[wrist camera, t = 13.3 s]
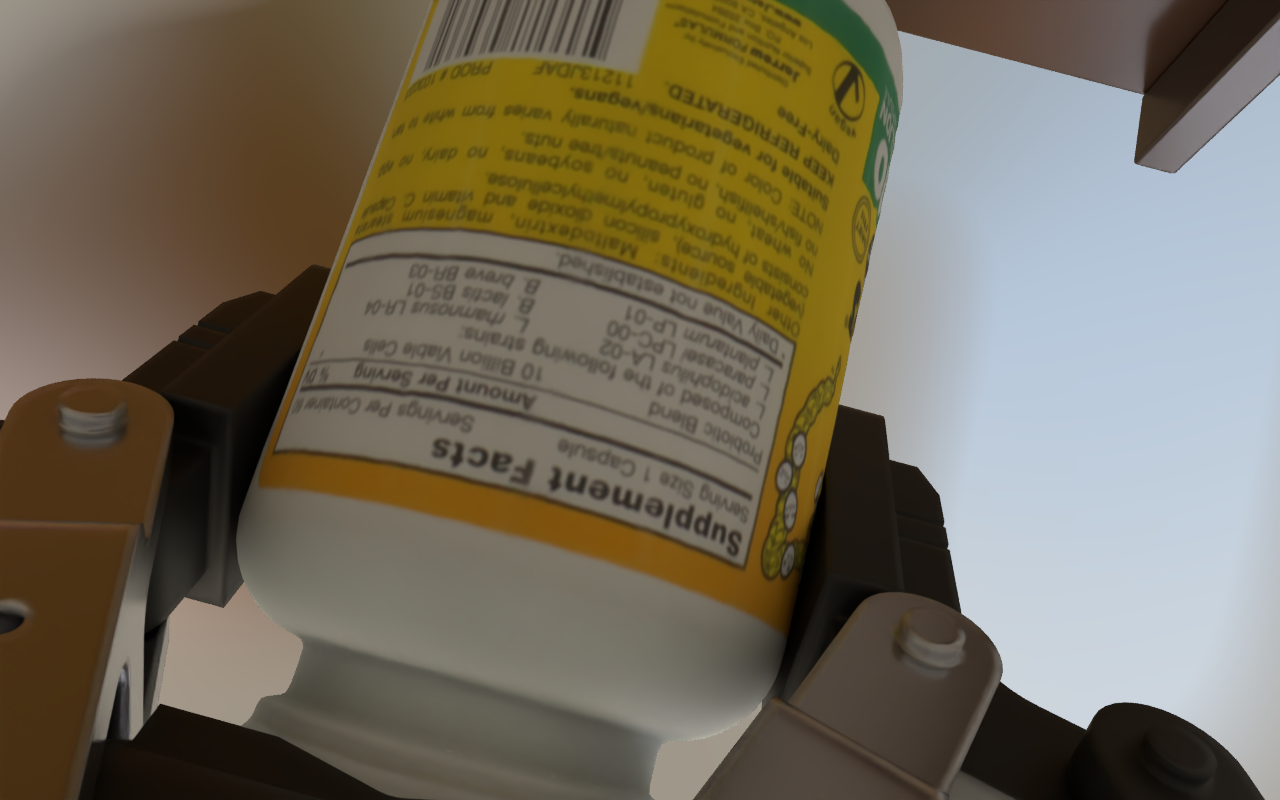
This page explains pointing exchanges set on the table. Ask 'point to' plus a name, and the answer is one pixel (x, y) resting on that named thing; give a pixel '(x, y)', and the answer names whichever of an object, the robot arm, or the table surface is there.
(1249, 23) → the dark wooden box
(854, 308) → the supplement bottle
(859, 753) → the robot arm
